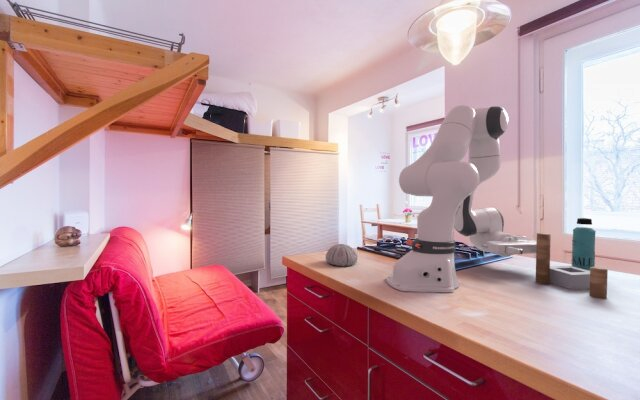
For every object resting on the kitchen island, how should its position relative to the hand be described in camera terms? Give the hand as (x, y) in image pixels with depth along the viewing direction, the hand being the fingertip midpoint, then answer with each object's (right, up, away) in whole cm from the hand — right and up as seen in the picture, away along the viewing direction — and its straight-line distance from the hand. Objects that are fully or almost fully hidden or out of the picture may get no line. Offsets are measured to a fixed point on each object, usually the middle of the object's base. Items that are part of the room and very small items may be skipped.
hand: (533, 251), depth 100 cm
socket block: (+9, -10, -4) cm, 14 cm away
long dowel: (0, -10, -3) cm, 10 cm away
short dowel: (+7, -10, -16) cm, 20 cm away
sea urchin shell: (-63, -9, +22) cm, 67 cm away
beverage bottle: (+24, -9, +9) cm, 27 cm away
